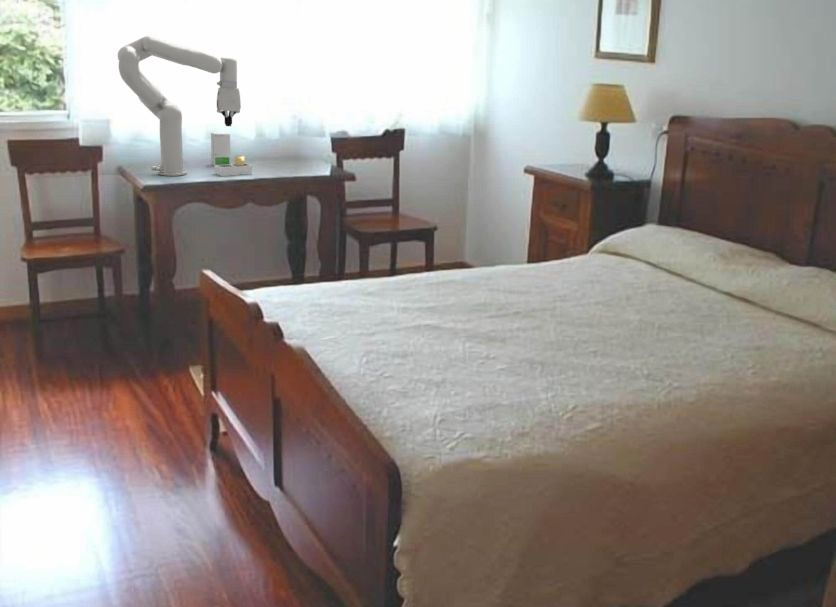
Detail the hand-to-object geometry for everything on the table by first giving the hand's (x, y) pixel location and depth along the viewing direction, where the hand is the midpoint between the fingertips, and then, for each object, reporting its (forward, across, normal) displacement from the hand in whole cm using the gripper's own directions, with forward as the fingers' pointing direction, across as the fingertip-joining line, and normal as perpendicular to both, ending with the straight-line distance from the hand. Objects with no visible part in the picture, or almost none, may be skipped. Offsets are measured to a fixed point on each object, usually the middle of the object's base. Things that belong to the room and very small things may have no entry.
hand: (228, 125), depth 426 cm
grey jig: (+21, 0, -6) cm, 22 cm away
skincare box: (+21, +4, +21) cm, 30 cm away
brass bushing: (+21, +4, -6) cm, 22 cm away
